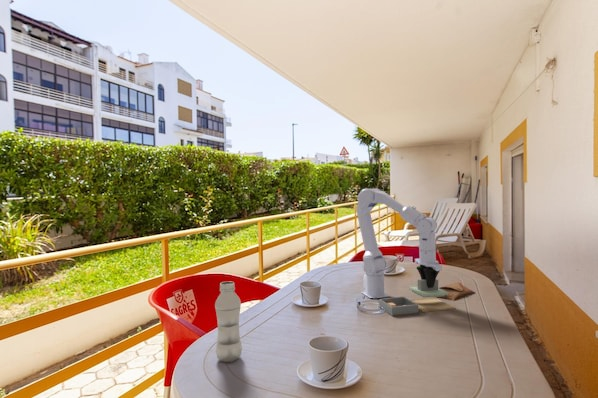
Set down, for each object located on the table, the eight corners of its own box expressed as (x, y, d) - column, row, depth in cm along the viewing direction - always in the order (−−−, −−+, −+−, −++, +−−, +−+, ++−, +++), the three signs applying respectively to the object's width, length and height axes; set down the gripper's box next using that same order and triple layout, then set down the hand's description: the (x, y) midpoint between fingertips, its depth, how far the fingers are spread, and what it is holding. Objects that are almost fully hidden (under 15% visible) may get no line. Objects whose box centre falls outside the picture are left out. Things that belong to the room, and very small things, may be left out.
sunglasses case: (454, 301, 134) (445, 284, 137) (439, 307, 139) (431, 290, 142) (476, 292, 146) (468, 277, 148) (462, 297, 150) (454, 282, 153)
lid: (408, 291, 135) (408, 277, 135) (432, 289, 137) (432, 276, 137) (423, 298, 125) (423, 283, 125) (448, 296, 127) (448, 282, 127)
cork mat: (403, 301, 136) (403, 300, 136) (433, 298, 139) (433, 297, 139) (422, 312, 124) (422, 311, 124) (455, 308, 126) (455, 307, 126)
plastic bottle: (218, 354, 95) (215, 280, 95) (243, 353, 95) (241, 279, 95) (214, 366, 88) (211, 287, 88) (241, 364, 89) (239, 285, 89)
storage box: (379, 307, 130) (378, 299, 130) (403, 304, 132) (403, 296, 132) (392, 316, 120) (391, 307, 120) (418, 313, 123) (418, 304, 123)
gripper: (449, 252, 125) (450, 290, 125) (425, 246, 139) (426, 281, 139) (431, 253, 123) (432, 292, 123) (409, 247, 137) (410, 282, 138)
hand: (428, 286), depth 131 cm, fingers closed on lid, 2 cm apart
